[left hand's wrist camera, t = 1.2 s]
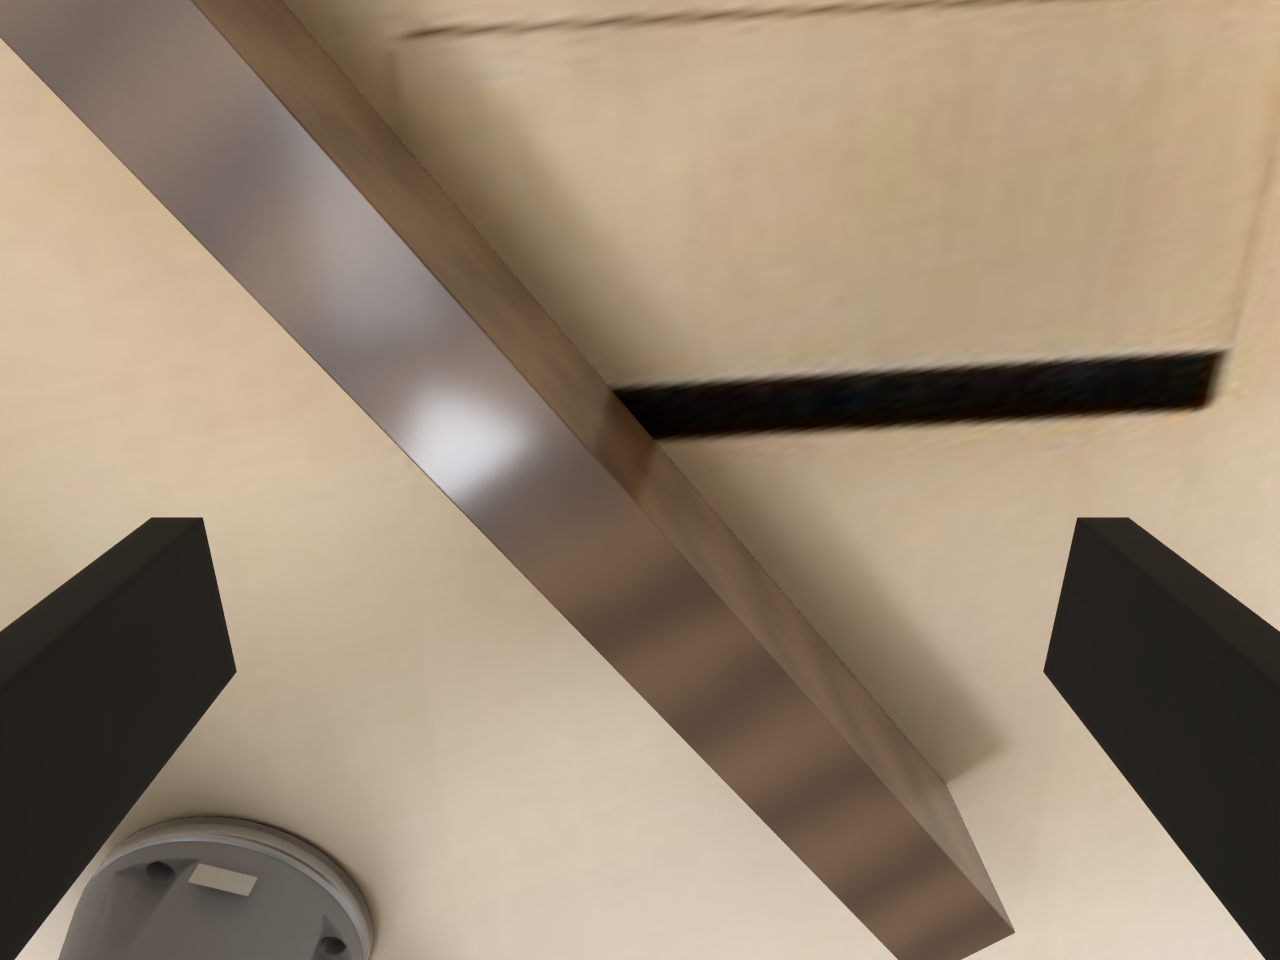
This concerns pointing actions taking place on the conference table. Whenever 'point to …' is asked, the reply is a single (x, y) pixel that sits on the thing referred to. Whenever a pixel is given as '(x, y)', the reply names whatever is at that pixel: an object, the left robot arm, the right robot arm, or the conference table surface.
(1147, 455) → the conference table surface
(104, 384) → the conference table surface
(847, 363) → the conference table surface
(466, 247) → the post
